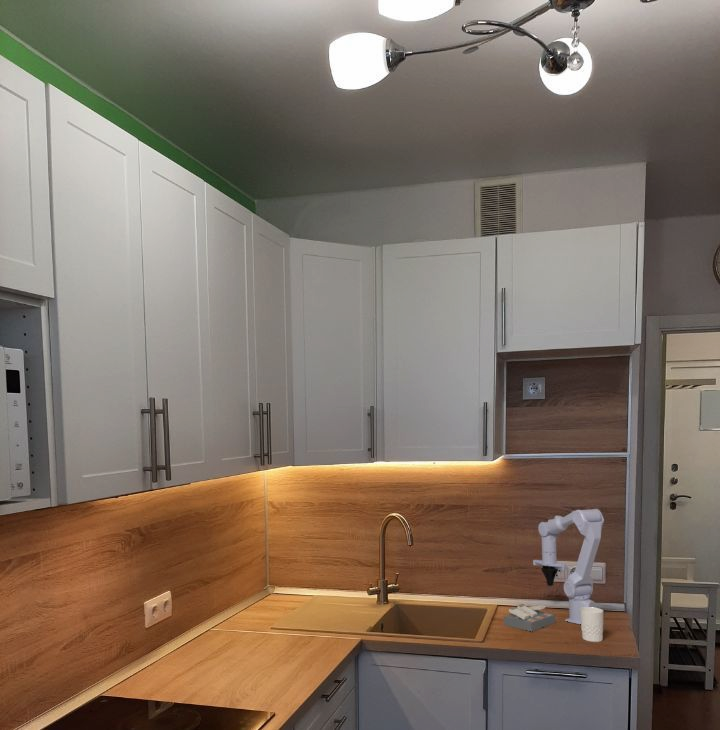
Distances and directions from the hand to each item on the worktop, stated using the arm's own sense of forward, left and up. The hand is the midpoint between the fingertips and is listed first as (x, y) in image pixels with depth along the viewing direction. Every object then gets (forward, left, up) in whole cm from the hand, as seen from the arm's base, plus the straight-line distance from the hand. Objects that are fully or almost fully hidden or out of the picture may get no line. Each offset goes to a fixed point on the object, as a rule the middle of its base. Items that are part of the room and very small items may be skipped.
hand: (550, 585), depth 267 cm
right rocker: (-4, +18, -5) cm, 19 cm away
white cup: (-30, +22, -10) cm, 39 cm away
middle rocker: (-4, +23, -5) cm, 24 cm away
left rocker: (-4, +28, -5) cm, 29 cm away
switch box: (-5, +23, -10) cm, 26 cm away
